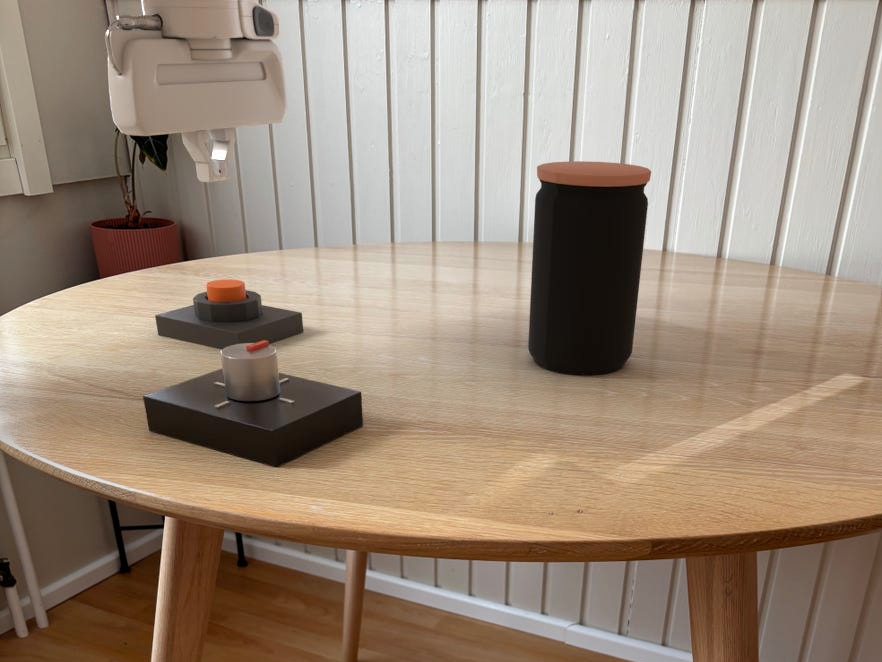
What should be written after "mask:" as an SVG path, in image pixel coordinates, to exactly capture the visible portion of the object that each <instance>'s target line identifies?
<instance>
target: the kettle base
mask: <svg viewBox="0 0 882 662" xmlns="http://www.w3.org/2000/svg"><path fill="white" fill-rule="evenodd" d="M245 291H246V299H244V300H241V301H233V302H215V301H210V300H208V295H207V291H204V292H199V293H197V294H196V295H194V296H193V297H192V301H193V304H191V305H188V306H184V307H180V308H177V309H173V310H169V311H166V312H162V313H159V314H155V315H154V317H155V325H156V329H157V336H159V337H163V338H168V339H172V340H177V341H181V342H186V343H191V344H195V345H199V346H204V347H209V348H212V349H218V350H220V351H221V350H222V349H224V348H226V347H228V346H231V345H236V344H243V343H257V342H260V341H263V340H265V341H269V345H271V344H273V343H276V342H281V341H283V340H286V339H288V338H291V337H295V336H297V335H300V334H303V333H304V324H303V323H304V321H303V313H302V312H301V311H295V310H290V309H286V308H285V309H284V308H280V307H274V306H268V305H263V303H262V295H261V294H260V293H258V292H256V291H254V290H247V289H245Z"/></svg>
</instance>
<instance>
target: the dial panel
mask: <svg viewBox="0 0 882 662" xmlns="http://www.w3.org/2000/svg"><path fill="white" fill-rule="evenodd" d="M279 382H280V393H279V395H277V396H276V397H274V398H271V399H267V400H262V401H238V400H234V399H231V398H229V397H228V396H227V395H226V390H225V383H224V375H223V367H222V368H220V369H217V370H214V371H211V372H208V373H205V374H203V375H199V376H195V377H194V378H191V379H187V380H185V381H182V382H179V383H177V384H173V385H170V386H167V387H164V388H162V389H159V390H156V391H154V392H151V393H148V394H145V395H142V399H143V404H144V410H145V411H144V412H145V416H146V421H147V427H148V431H149V432H152V433H155V434H159V435H163V436H166V437H169V438H173V439H176V440H181V441H183V442H186V443H190V444H194V445H197V446H201V447H205V448H208V449H210V450H211V449H212V450H215V451H218V452H222V453H226V454H228V455H232V456H235V457H238V458H239V457H240V458H243V459H247V460H250V461H253V462H257V463H261V464H264V465H267V466H271V467H274V468H279V467H280V466H282V465H283V466H284V465H285V464H287V463H289V462H291V461H293V460H295V459H297V458H299V457H301V456H303V455H306V454H308V453H309V452H311V451H314V450H316V449H318V448H320V447H322V446H324V445H325V444H328V443H330V442H333V441H334V440H336V439H338V438H340V437H342V436H345V435H347V434H349V433H351V432H353V431H355V430H357V429H359V428H361V427H363V426H364V417H363V416H364V415H363V396H362V395H363V394H362V391H359V390H356V389H352V388H348V387H343V386H338V385H334V384H329V383H325V382H321V381H317V380H312V379H306V378H303V377H299V376H295V375H290V374H286V373H281V372H279Z"/></svg>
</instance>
